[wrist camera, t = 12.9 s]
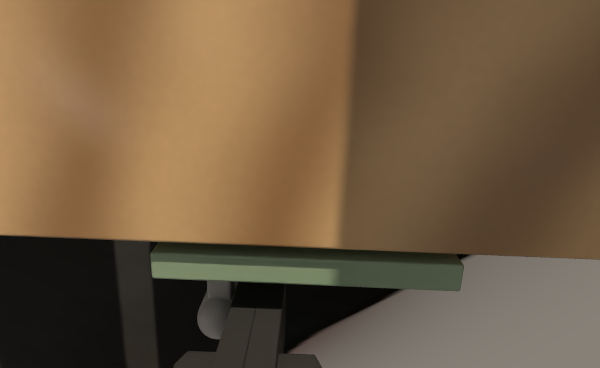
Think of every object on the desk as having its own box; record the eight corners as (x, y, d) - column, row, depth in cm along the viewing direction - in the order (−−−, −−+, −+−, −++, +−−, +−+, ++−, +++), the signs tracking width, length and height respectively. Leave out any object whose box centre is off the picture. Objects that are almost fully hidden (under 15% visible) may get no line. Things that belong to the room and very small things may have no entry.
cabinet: (143, 139, 23) (-31, 235, 11) (121, -126, 19) (-175, -390, 7) (485, 152, 22) (667, 263, 11) (530, -117, 19) (879, -379, 7)
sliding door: (230, 222, 23) (159, 371, 13) (228, 153, 22) (148, 252, 11) (384, 228, 23) (445, 384, 12) (391, 158, 22) (465, 265, 11)
